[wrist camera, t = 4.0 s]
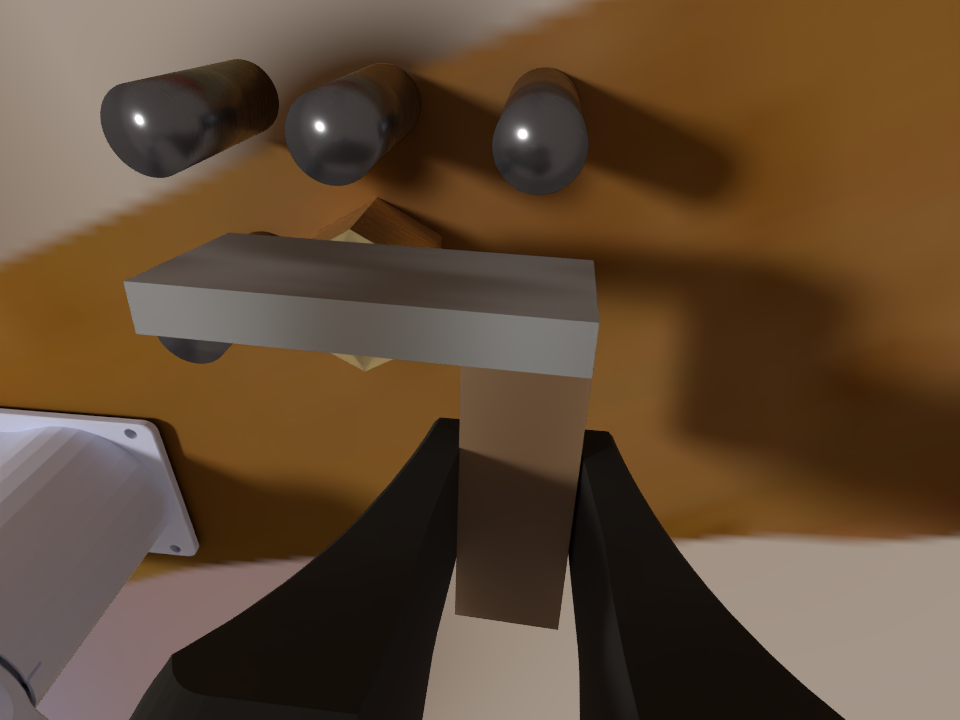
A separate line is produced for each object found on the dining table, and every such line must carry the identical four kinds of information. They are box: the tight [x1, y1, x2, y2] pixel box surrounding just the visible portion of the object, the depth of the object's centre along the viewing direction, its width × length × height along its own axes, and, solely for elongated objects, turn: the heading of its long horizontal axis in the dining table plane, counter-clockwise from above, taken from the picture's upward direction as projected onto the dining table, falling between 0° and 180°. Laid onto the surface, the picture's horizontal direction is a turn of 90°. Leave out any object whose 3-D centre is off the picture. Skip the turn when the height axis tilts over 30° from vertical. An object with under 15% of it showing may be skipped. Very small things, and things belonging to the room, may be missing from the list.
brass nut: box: [311, 197, 441, 371], centre depth 18 cm, size 5×4×3 cm
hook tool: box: [123, 233, 599, 630], centre depth 13 cm, size 8×7×4 cm
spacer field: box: [100, 59, 588, 364], centre depth 16 cm, size 11×7×5 cm, turn 89°
